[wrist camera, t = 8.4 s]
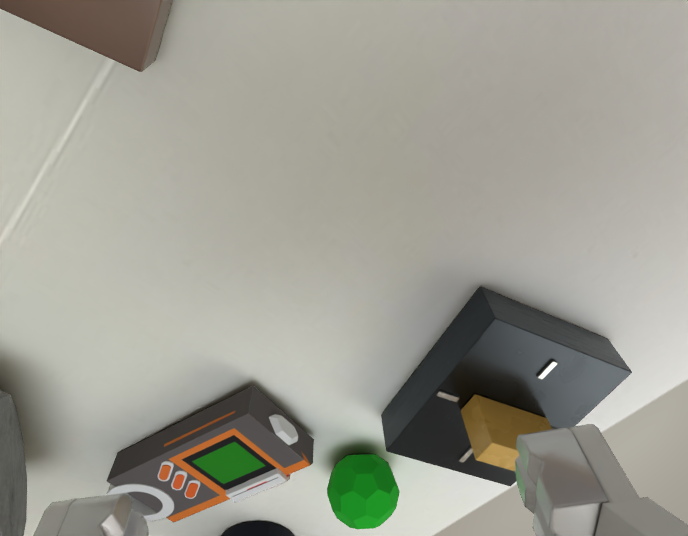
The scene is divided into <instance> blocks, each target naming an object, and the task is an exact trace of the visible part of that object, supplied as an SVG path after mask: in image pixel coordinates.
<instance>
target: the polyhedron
mask: <svg viewBox="0 0 688 536" xmlns="http://www.w3.org/2000/svg"><path fill="white" fill-rule="evenodd" d="M327 493H328V498H329V501H330V504H331V507H332V510H333V512H334V513H335V515H336V517H337V518H338V519H339V520H340V521H342V522H343V523H344V524H346V525H347V526H349V527H350V528H355V529H369V528H376V527H378V526H380V525H381V524H382V523H383V522H385V521H386V520H387V519H388V518H389V517H390V516H391V515H392V513H393V512H394V510H395V509H396V506H397V501H398V496H399V489H398V486H397V484H396V481H395V478H394V476H393V473H392V471H391V469H390V466H389V464H388V462H386V461H385V460H383V459H382V458H380V457H379V456H377V455H376V454H363V455H347V456H346V457H345V458H343V459H342V460H341V461H340V462H339V463H337V464H336V465H335V467H334V469H333V471H332V473H331V477H330V480H329V484H328V488H327Z"/></svg>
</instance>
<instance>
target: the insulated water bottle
mask: <svg viewBox="0 0 688 536" xmlns="http://www.w3.org/2000/svg"><path fill="white" fill-rule="evenodd" d="M222 536H294V535H293V534H292V533H291V532H290V531H289V530H288V529H286V528H284V527H283V526H281V525H278V524H274V523H271V522H260V521H255V522H245V523H242V524H238V525H235V526H233V527H231V528H230V529H228V530H226V531H225V532H224V534H223V535H222Z"/></svg>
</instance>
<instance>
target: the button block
mask: <svg viewBox="0 0 688 536" xmlns="http://www.w3.org/2000/svg"><path fill="white" fill-rule="evenodd" d="M172 1H173V0H0V9H2V10H5V11H7V12H9V13H11V14H13V15H16V16H18V17H20V18H22V19H24V20H27V21H29V22H31V23H33V24H35V25H38V26H40V27H42V28H44V29H47V30H49V31H51V32H53V33H55V34H58V35H60V36H62V37H64V38H66V39H69V40H71V41H73V42H75V43H77V44H80V45H82V46H84V47H86V48H88V49H91V50H93V51H95V52H97V53H100V54H102V55H104V56H106V57H108V58H111V59H113V60H115V61H117V62H119V63H122V64H124V65H126V66H128V67H130V68H133V69H135V70H137V71H139V72H142V71H143V70H144V69H146V68H147V67H148V66H149V65H150V64H152V63H153V62H154V61H155V60H156V56H157V53H158V49H159V46H160V42H161V39H162V35H163V32H164V28H165V25H166V22H167V18H168V15H169V11H170V8H171V4H172Z"/></svg>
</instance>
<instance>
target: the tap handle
mask: <svg viewBox="0 0 688 536" xmlns="http://www.w3.org/2000/svg"><path fill="white" fill-rule="evenodd" d="M461 414H462V418H463V421H464V424H465V427H466V430H467V434H468V437H469V440H470V443H471V447H472V450H473V453H474V456H475V459H476V460H478V461H481V462H484V463H488V464H491V465H495V466H498V467H502V468H505V469H508V470H512V471H515V459H516V458H517V457H518V456H519V452H518V450H517V447H516V440H517V437H518V435H521V434H527V433H533V432H539V431H545V430H551V429H552V427H551V425H550V423H549V421H548V419H547V418H545V417H542V416H539V415H536V414H533V413H530V412H527V411H524V410H521V409H518V408H515V407H512V406H509V405H506V404H503V403H500V402H497V401H494V400H491V399H488V398H485V397H482V396H479V395H476V394H475V395H474V396H473V397H472V398H471V399H470V400H469V402H468V403H467V404H466V405H465V406H464V407H463V408H462V410H461Z"/></svg>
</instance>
